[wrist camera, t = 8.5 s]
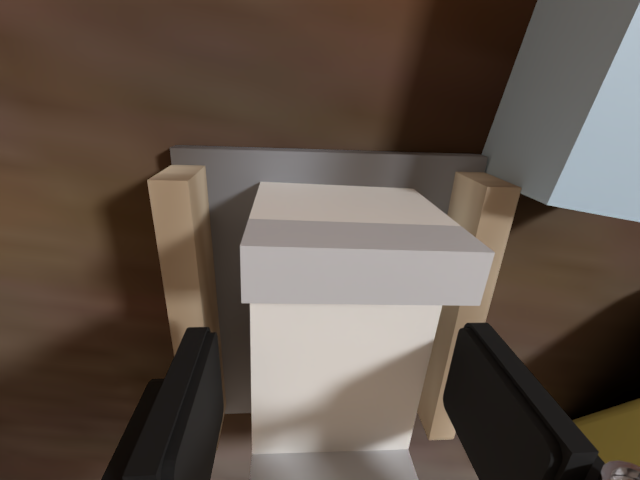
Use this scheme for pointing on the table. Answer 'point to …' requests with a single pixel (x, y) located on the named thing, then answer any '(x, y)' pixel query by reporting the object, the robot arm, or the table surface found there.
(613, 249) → the table surface
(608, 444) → the plastic component
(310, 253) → the white i-beam block
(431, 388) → the assembly jig
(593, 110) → the light blue rectangular block
